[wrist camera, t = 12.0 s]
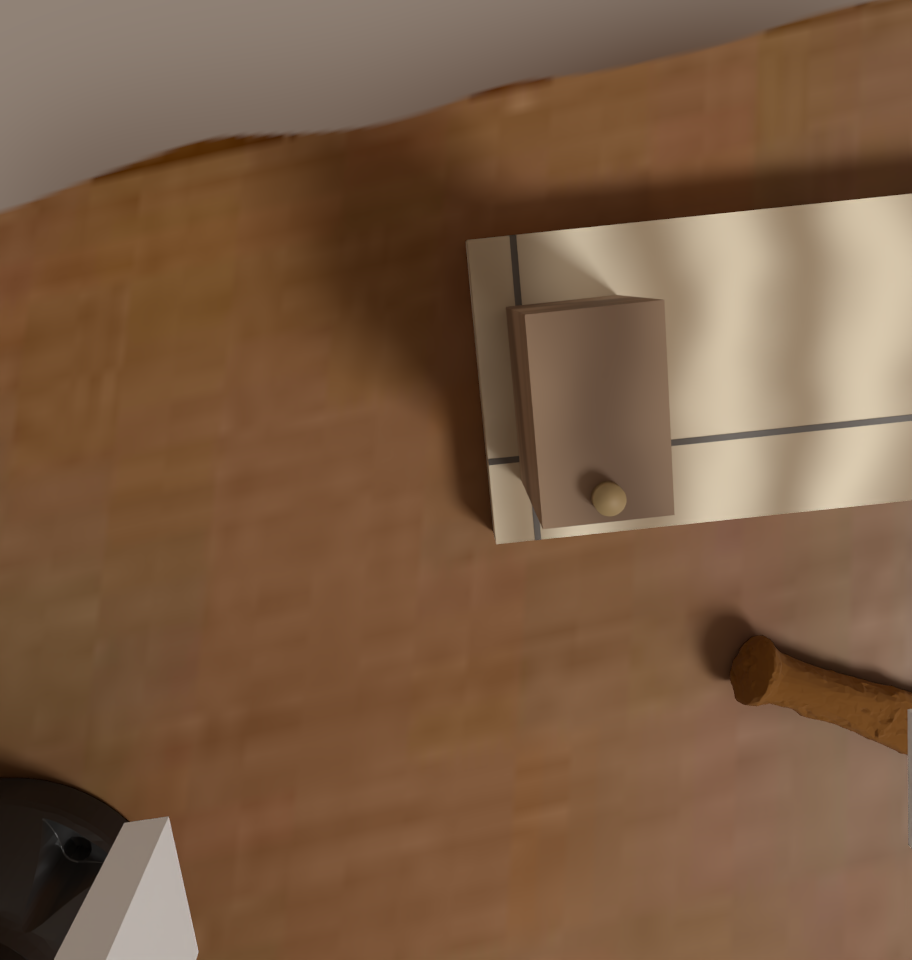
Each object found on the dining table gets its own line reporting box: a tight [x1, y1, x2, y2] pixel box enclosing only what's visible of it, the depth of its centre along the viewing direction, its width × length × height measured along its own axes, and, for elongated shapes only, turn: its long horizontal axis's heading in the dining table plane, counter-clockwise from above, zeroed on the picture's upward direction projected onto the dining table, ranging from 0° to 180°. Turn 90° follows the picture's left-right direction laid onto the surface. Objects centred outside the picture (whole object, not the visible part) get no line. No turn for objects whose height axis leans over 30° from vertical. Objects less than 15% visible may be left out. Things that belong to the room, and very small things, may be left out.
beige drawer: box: [506, 295, 675, 529], centre depth 35 cm, size 5×8×9 cm, turn 6°
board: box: [466, 194, 912, 544], centre depth 41 cm, size 28×14×2 cm, turn 96°
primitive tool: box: [730, 636, 912, 755], centre depth 45 cm, size 19×6×4 cm, turn 71°
